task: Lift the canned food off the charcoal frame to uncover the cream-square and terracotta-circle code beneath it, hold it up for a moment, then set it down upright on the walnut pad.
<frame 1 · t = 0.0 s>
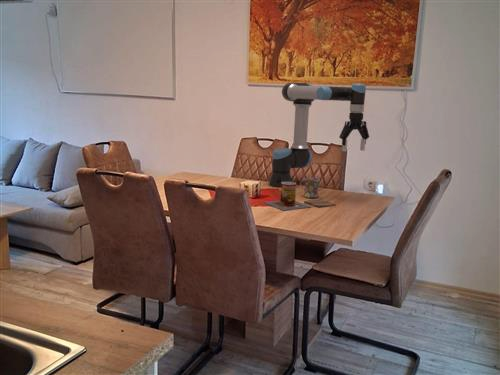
hand: (353, 150, 262), 28 cm above the table, tool pointing down, fingers open, 13 cm apart
code frame: (287, 205, 248), on the table
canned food: (287, 205, 248), on the table, touching code frame
walnut pad: (319, 204, 254), on the table
mug: (308, 197, 271), on the table
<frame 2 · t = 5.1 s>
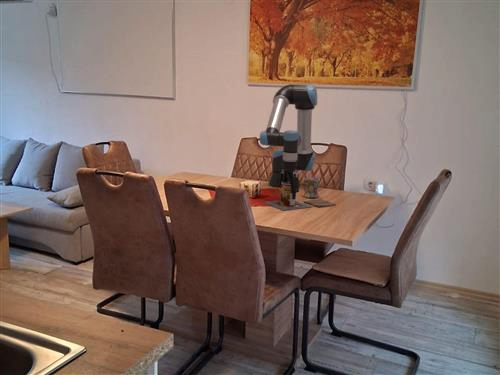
hand: (287, 203, 248), 1 cm above the table, tool pointing down, fingers closed on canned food, 8 cm apart
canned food: (287, 205, 248), on the table, touching code frame, gripper
everything else where it was.
when the fingers open (3 cm above the table, at t = 13.0 s): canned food drops 1 cm, resting on walnut pad.
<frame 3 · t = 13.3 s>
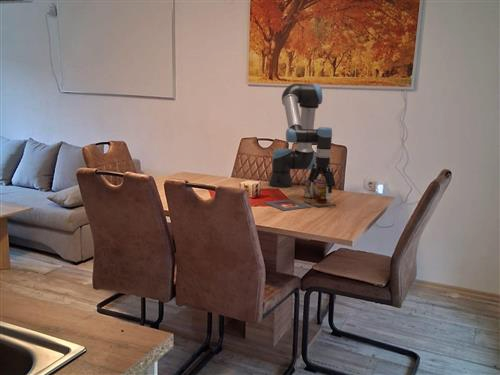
hand: (320, 196, 253), 4 cm above the table, tool pointing down, fingers open, 12 cm apart
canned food: (319, 202, 253), point 1 cm above the table, touching walnut pad
everything else where it was.
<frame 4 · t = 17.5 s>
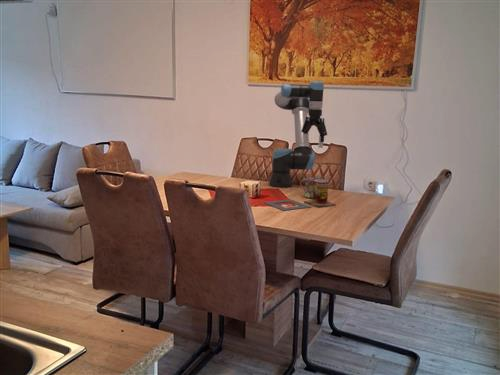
hand: (313, 146, 270), 29 cm above the table, tool pointing down, fingers open, 13 cm apart
nothing on the table moved.
at the end: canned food inside the target area on the walnut pad (0.1 cm from its centre), point 0.8 cm above the walnut pad's base; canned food tilted 0°; the gripper is holding nothing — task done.
